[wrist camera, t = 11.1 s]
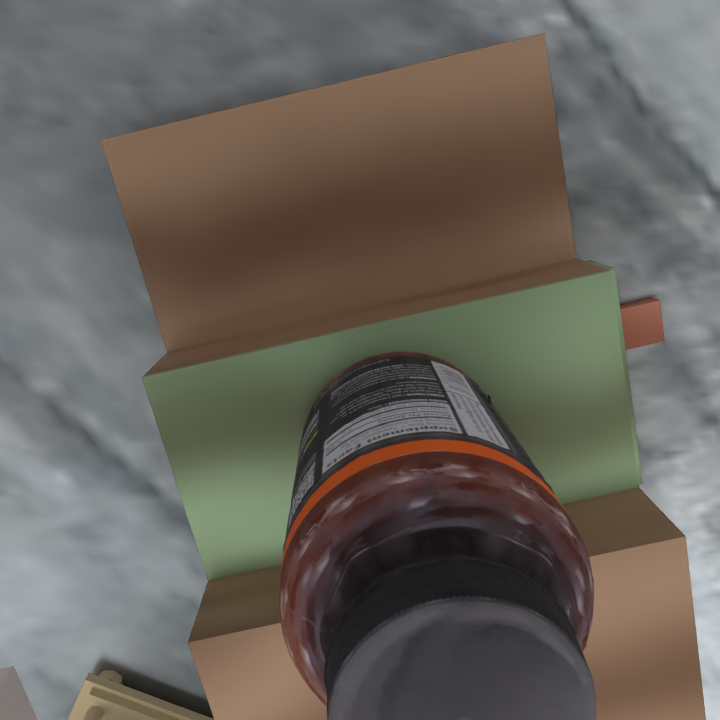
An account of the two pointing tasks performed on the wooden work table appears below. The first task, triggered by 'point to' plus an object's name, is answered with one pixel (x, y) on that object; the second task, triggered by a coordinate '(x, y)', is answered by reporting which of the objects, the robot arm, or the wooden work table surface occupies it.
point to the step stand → (393, 341)
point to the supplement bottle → (430, 557)
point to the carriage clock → (123, 702)
